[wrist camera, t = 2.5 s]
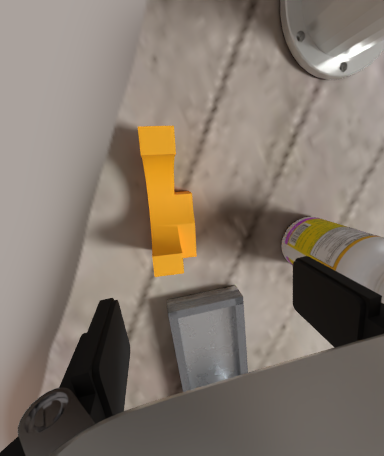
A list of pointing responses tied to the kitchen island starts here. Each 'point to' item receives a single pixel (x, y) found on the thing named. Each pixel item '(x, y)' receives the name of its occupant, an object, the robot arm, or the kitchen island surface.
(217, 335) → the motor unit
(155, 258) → the pipe clamp
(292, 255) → the supplement bottle
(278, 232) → the kitchen island surface
